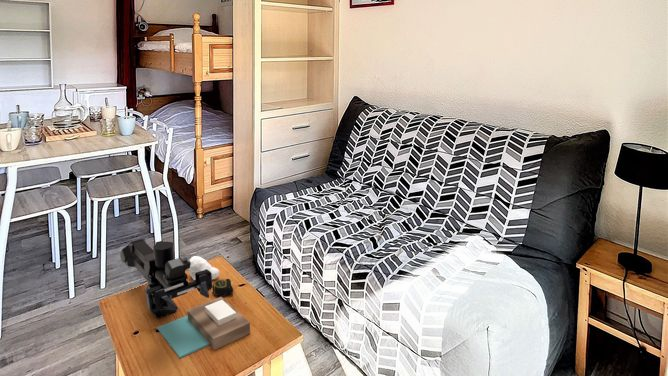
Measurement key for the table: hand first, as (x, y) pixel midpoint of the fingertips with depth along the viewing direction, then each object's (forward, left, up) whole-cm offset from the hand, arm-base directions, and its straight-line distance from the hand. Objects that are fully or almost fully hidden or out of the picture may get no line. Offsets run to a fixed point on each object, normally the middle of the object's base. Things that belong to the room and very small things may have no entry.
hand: (193, 302), depth 122 cm
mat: (-9, 0, -17) cm, 19 cm away
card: (-6, +11, -12) cm, 17 cm away
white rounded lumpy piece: (-36, +20, -17) cm, 45 cm away
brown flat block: (-6, +10, -17) cm, 20 cm away
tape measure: (-23, +21, -17) cm, 36 cm away
